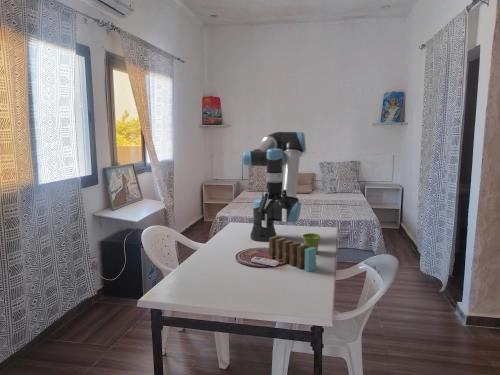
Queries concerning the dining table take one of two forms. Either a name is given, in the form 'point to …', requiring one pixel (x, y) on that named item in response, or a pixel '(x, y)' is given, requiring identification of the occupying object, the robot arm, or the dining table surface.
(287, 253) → the domino
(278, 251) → the domino
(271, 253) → the domino
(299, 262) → the domino
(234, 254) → the dining table surface
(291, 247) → the domino
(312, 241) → the plant pot
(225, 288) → the dining table surface
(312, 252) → the domino
